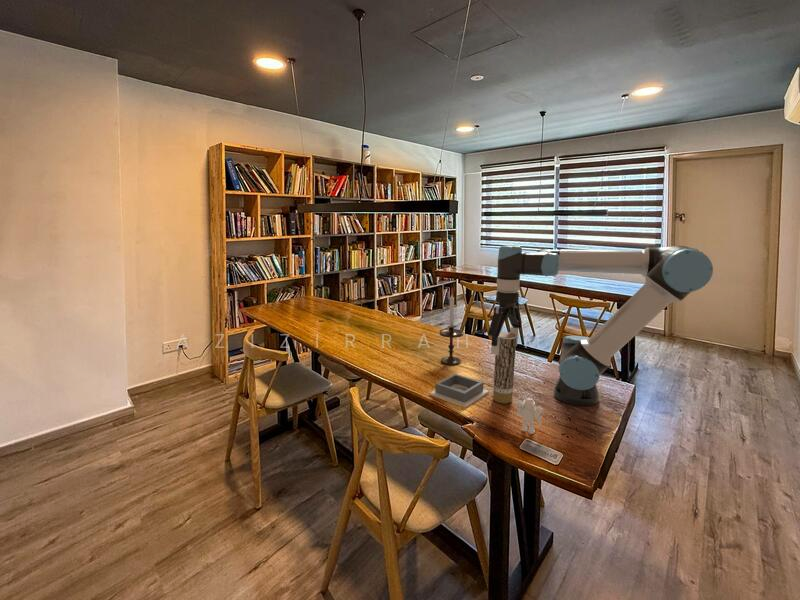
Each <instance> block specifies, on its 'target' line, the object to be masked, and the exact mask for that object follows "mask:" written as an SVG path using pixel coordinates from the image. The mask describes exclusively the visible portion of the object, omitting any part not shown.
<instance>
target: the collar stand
mask: <svg viewBox="0 0 800 600" xmlns="http://www.w3.org/2000/svg"><path fill="white" fill-rule="evenodd" d="M484 384H485V383H484V382H483V381H481V380H478V379H475V378H471V377H468V376H464V375H461V374H458V373H453V374H452V375H450V376H448V377H446V378H443V379H442V380H439V381H437V382H436V383H435V386H434V389H433V390H431V391H429V396H432V397H434V398H437V399H440V400H443V401H446V402H448V403H450V402H451V403H450V404H454V405H456V404H457V406H458V405H459V406H460V407H461V406H463V407H462V408H464V407H465V409H467V408H468V407H469V405H470V406H471V405H473V404H474V403H475V402H478V401H479V400H480V399H482V398H484V397H486V396H487V395H488V394H489V393H490V392H489V390H487V389H486V388H485V389H484ZM486 394H487V395H486ZM472 403H473V404H472ZM467 406H468V407H467ZM466 407H467V408H466Z"/></svg>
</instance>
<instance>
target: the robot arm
mask: <svg viewBox="0 0 800 600" xmlns="http://www.w3.org/2000/svg"><path fill="white" fill-rule="evenodd" d="M559 272H575V273H577V272H578V273H579V272H581V273H601V274H602V273H603V274H605V273H606V274H626V275H627V274H628V275H629V274H630V275H641V276H642V277H643V278H645V281H644V282H645V283H644V284H643V285H642V286H641V287H640V288H639V289H638V290H637V291H636V292H635V293H634V294H633V295H632V296H631V297H629V299H628V300H626V302H624V304H623V305H621V307H620V308H619V309H617V311H616V312H615V313H614V314H612V316H610V317H609V318H608V319H607V321H605V322H604V323H603V325H601V326H600V327H598V329H596V331H595V332H594V333H593V334H592V335H591V336H590V337H588V336H584V335H581V336H580V335H566V336H564V337H563V338H562V339H563V340H562V343H561V344H562V347H561V348H562V349H561V357H560V363H559V364H558V365H559V366H558V373H559V377H558V378H557V382H556V384H555V385H554V387H553V388H554V389H553V394H554V397H555V399H558V400H559V401H561V402H562V403H565V404H569V405H572V406H577V407H579V406H580V407H590V406H594V405H597V404H598V402H599V398H600V395H599V391H598V390H599V389H598V386H597V383H598V382H599V379H600V376H601V375H602V374H603V373H604V372H605V371H606V370H607V369H608V368H609V367H611V365H612V362H611V358H612V357H614V356H615V354H617V353H618V352H619V351H620V350H621V349H622V348H623V347H625V345H627V343H629V342H630V341H631V340H632V339H633V338H634V337H635V336H636V335H638V333H640V332H641V331H642V330H643V329H644V328H645V327H646V326H647V325H648V324H649V323H651V322H652V320H654V318H656V317H657V316H659V314H660V313H661V312H662V311H664V310H665V309H666V307H668V306H669V305H670V304H672V303H678V302H680V303H681V301H683V300H684V299H685V298H686V297H687V296H688V295H690V294H691V293H692V292H696V291H698V290H701V289H702V288H704V287H706V285H707V284H708V283H710V281H711V279H712V277H713V274H714V273H713V272H714V267H713V262H712V260H711V259H710V258H709V256H707V255H706V254H705V253H704V252H703V251H700V250H699V249H697V248H693V247H688V246H686V245H673V246H672V245H671V246H663V247H645V248H644V249H643V250H607V249H606V250H604V249H596V250H595V249H549V248H541V249H539V250H537V251H536V252H532V251H531V252H527V251H526V252H525V251H523V250H522V246H520V245H511V244H510V245H509V244H506V245H501V246H500V247H499V248H498V257H497V273H496V274H497V276H496V277H497V279H496V295H495V298H496V299H495V300H496V302H497V303H499V306H495V307H493V314H492V318H491V321H490V325H489V329H488V332H487V335H488V336H490V337H491V345H490V346H491V347H490V354H492V355H494V356H495V355H499V348H500V337H499V334H500V332H502V328H503V326H504V324H505V321H507V319H508V320H509V322H510V323H509V324H511V326H510V327H509V328H510V330H509V332H510V333H514V334H516V347H517V346H518V342H519V341H518V339H519V338H518V337H519V329H521V328H522V322H523V321H522V317H521V312H520V311H521V310H520V303H519V298H520V293H519V291H520V281H521V279H520V278H521V275H530V276H544V277H556V276H557V275H558V274H559Z"/></svg>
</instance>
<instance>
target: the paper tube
mask: <svg viewBox="0 0 800 600" xmlns="http://www.w3.org/2000/svg"><path fill="white" fill-rule="evenodd" d="M499 337H500V348H499V355H494V371H493V373H494V374H493V393H492V394H493V395H492V398H493V400H494V401H495V402H496V403H499V404H502V405H505V404H510V403H511V402H512V401H513V394H514V393H513V392H514V376H515V362H516V347H517V346H516V334H514V333H510V331H500V334H499Z"/></svg>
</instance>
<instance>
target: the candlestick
mask: <svg viewBox="0 0 800 600" xmlns="http://www.w3.org/2000/svg"><path fill="white" fill-rule="evenodd" d="M453 288H454V287H451V293H450V294H451V296H450V297H449V325H447V328H443V329H441V330H439V336H441V337H443V338H449V345H448V346H447V347H448V349H449V350H448V353H449V356H444V357H442V358H440V362H441V364H443V365H446V366H458V365H460V364H461V363H462V361H461V359H460V358H459V357H455V356H453V354H454V353H455V352H454V348H455V345H454V344H453V343H454V342H453V341H454V339H456V338H460V337H463V336H464V331H463V330H461V329H457V328H456V327H457V326H456V325H454V324H455V322H454V320H455V319H454V318H455V297H454V289H453ZM453 338H454V339H453Z"/></svg>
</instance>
